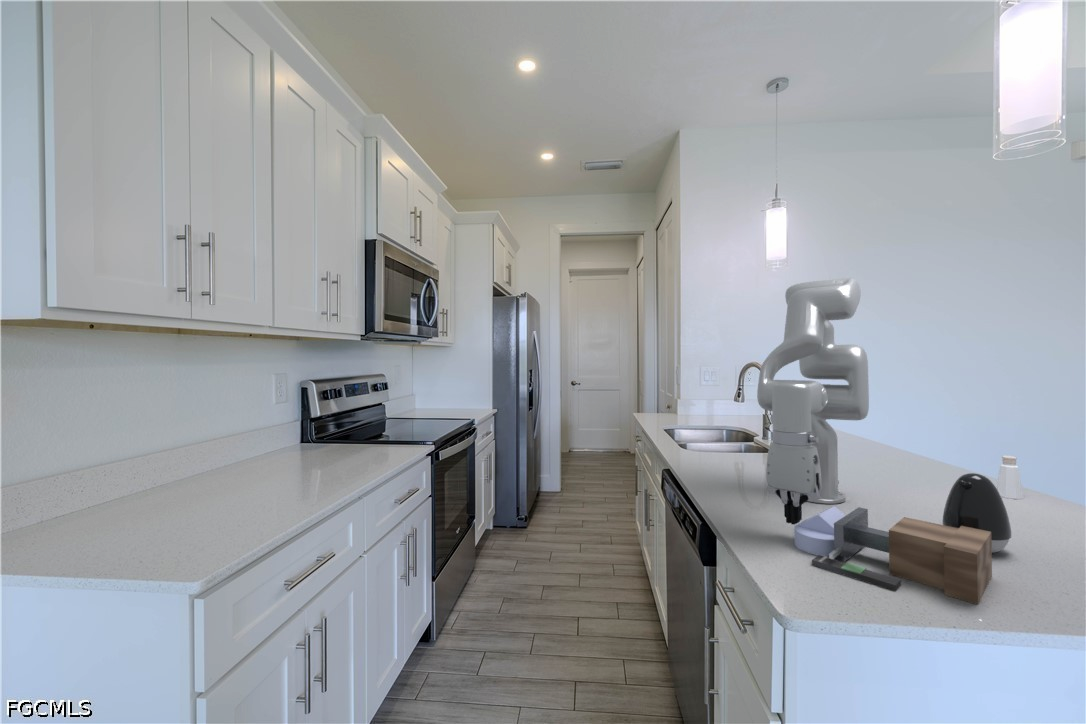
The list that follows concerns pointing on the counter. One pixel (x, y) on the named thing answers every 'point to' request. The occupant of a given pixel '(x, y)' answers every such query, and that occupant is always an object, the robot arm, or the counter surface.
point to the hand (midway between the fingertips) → (793, 522)
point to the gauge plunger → (856, 535)
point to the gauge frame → (930, 559)
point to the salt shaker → (1009, 479)
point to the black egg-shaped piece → (978, 508)
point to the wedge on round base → (817, 532)
